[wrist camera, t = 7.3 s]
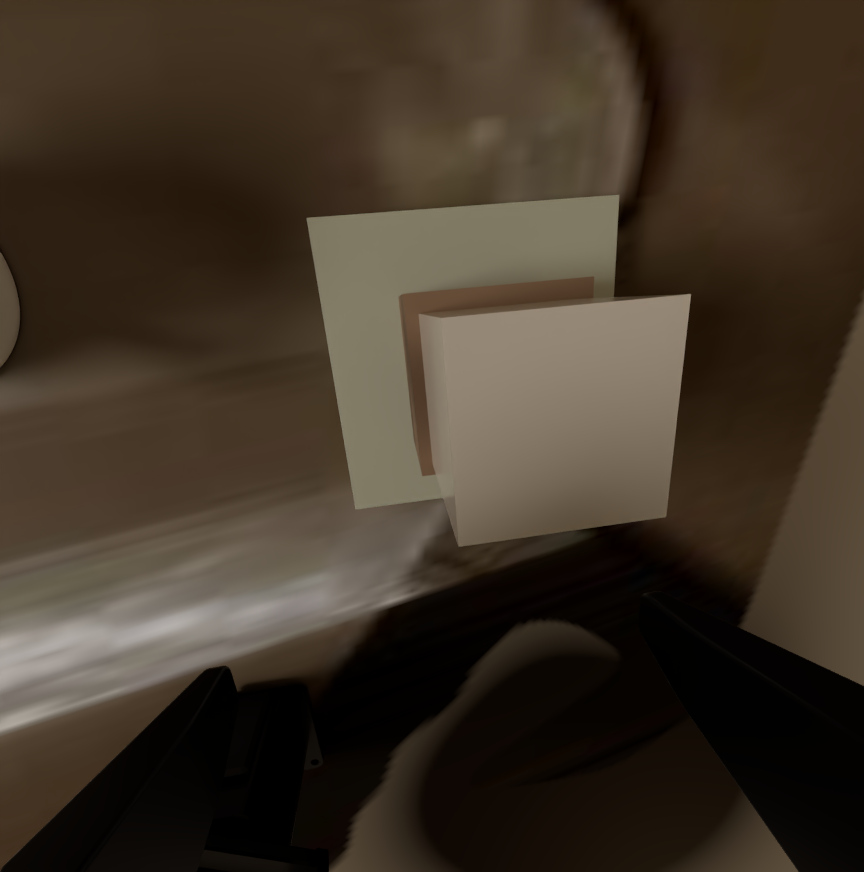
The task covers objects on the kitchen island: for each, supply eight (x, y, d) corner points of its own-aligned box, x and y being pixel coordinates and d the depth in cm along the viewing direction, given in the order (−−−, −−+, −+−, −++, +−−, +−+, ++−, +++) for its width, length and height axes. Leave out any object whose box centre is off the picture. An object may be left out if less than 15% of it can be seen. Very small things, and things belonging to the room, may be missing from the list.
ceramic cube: (571, 446, 14) (666, 517, 9) (432, 464, 14) (458, 547, 9) (575, 298, 13) (690, 294, 8) (418, 313, 12) (441, 317, 7)
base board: (584, 460, 21) (604, 476, 19) (358, 490, 20) (355, 509, 18) (593, 206, 17) (619, 194, 16) (315, 228, 16) (306, 217, 15)
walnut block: (545, 423, 18) (587, 454, 14) (413, 439, 18) (422, 476, 14) (545, 283, 16) (594, 276, 12) (398, 296, 16) (402, 293, 12)
